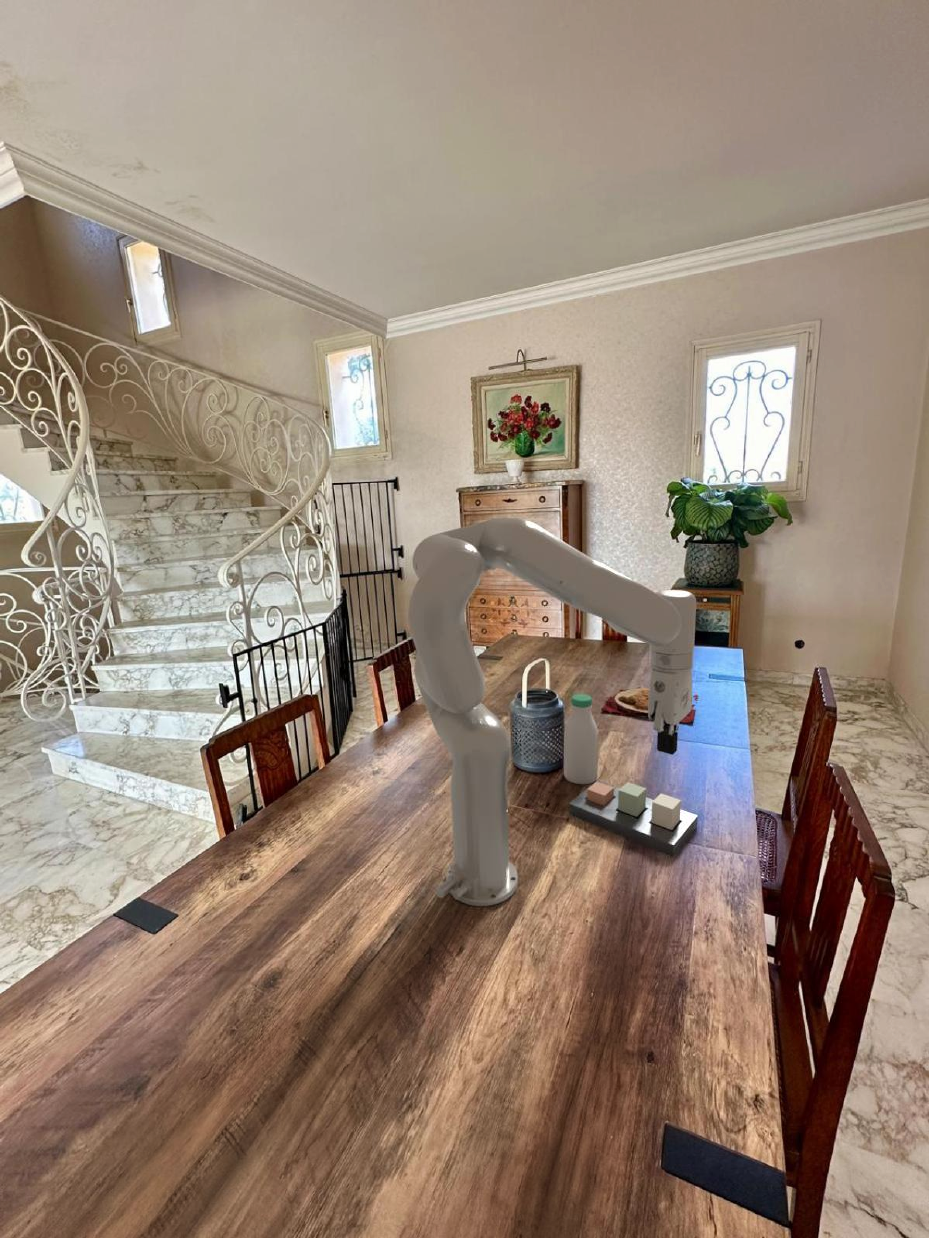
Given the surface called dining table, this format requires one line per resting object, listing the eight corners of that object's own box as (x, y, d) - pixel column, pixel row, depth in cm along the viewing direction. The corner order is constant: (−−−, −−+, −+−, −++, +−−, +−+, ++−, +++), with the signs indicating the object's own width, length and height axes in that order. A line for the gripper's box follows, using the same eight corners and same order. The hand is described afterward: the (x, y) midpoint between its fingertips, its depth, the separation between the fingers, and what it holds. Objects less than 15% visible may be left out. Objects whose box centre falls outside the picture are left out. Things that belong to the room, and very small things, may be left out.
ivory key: (671, 829, 106) (672, 809, 105) (651, 822, 109) (652, 801, 108) (679, 820, 109) (681, 800, 108) (659, 813, 112) (660, 793, 111)
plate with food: (692, 728, 157) (693, 716, 156) (600, 713, 168) (601, 702, 167) (698, 699, 178) (699, 689, 177) (616, 688, 189) (616, 678, 188)
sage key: (636, 816, 111) (637, 796, 110) (617, 809, 113) (618, 790, 112) (645, 807, 114) (646, 788, 113) (626, 801, 116) (627, 781, 115)
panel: (672, 857, 103) (673, 844, 102) (568, 814, 117) (568, 803, 116) (696, 827, 111) (697, 815, 111) (597, 790, 126) (597, 780, 125)
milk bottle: (597, 786, 127) (599, 704, 123) (563, 784, 129) (563, 702, 124) (596, 770, 135) (598, 691, 130) (564, 767, 136) (564, 690, 132)
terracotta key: (604, 814, 116) (604, 795, 115) (587, 807, 118) (587, 789, 117) (613, 806, 119) (613, 787, 118) (596, 799, 121) (596, 781, 120)
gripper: (676, 673, 94) (671, 773, 98) (706, 651, 105) (700, 742, 109) (633, 665, 99) (630, 760, 103) (666, 645, 110) (662, 732, 114)
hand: (666, 750), depth 106 cm, fingers closed
